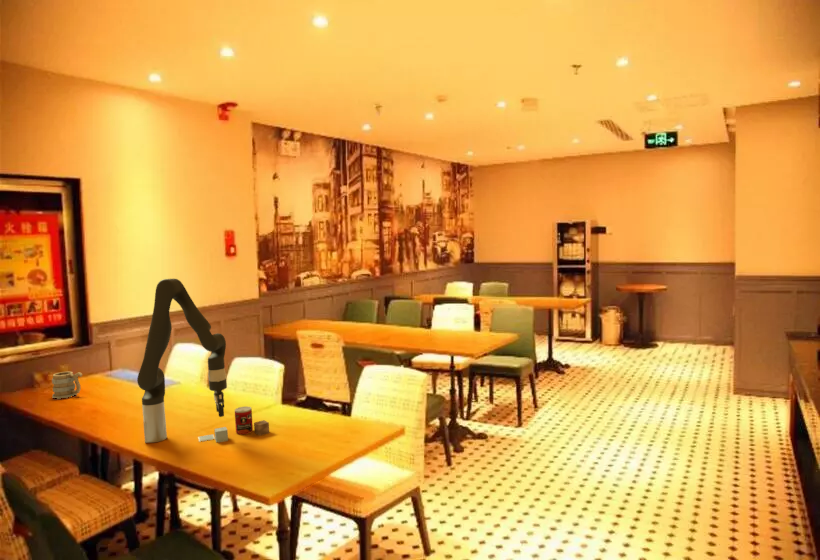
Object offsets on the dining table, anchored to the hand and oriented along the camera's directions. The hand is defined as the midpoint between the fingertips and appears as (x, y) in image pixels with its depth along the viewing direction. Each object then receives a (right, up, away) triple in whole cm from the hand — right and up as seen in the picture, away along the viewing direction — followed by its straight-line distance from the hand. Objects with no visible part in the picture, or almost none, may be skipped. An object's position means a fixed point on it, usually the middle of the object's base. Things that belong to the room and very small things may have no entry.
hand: (220, 413), depth 264 cm
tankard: (-119, -10, +88) cm, 149 cm away
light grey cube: (0, -12, +1) cm, 12 cm away
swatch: (-8, -12, +4) cm, 15 cm away
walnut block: (+17, -11, +8) cm, 21 cm away
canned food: (+8, -11, +11) cm, 17 cm away
